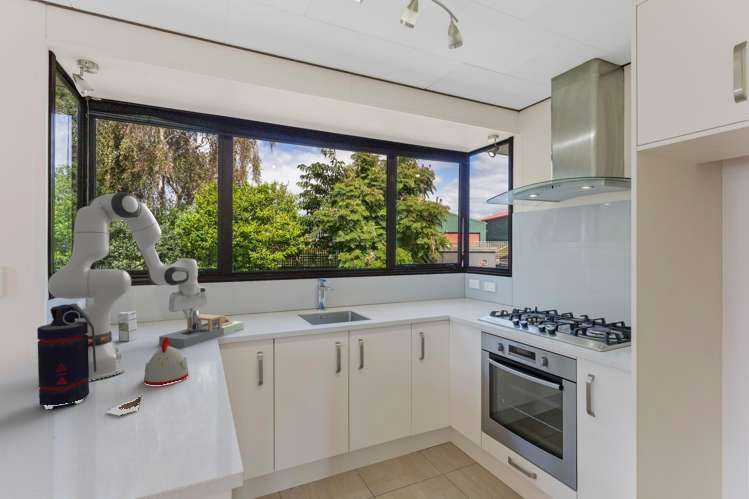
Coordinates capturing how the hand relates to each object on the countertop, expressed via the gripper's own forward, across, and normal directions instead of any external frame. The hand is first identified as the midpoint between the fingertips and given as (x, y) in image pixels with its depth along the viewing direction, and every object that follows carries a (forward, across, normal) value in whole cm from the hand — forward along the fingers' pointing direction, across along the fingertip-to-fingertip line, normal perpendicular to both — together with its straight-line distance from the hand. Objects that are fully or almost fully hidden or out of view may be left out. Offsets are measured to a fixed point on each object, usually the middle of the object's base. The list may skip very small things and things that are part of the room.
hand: (188, 317), depth 184 cm
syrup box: (+12, -10, +31) cm, 34 cm away
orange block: (+8, +20, 0) cm, 21 cm away
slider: (+7, +14, 0) cm, 15 cm away
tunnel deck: (+12, +10, 0) cm, 15 cm away
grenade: (+12, -66, -24) cm, 71 cm away
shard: (+12, -63, -45) cm, 78 cm away
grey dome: (+12, -41, -36) cm, 56 cm away
